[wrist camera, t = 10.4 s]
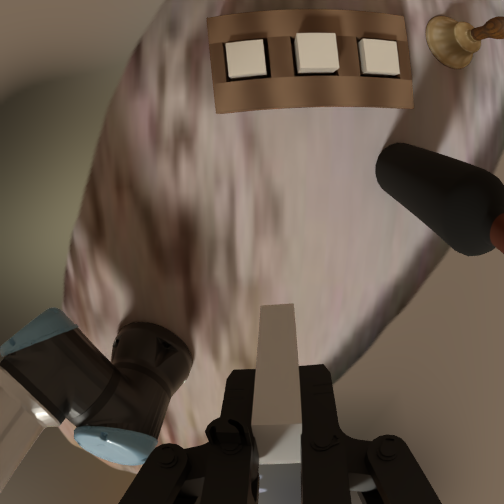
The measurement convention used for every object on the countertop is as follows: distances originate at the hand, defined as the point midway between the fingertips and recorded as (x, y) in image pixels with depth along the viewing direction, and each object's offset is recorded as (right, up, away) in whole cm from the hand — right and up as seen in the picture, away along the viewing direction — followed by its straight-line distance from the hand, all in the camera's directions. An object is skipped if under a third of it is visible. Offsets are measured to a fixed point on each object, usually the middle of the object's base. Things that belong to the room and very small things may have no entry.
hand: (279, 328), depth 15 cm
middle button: (+6, +26, +16) cm, 31 cm away
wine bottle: (+19, +15, +24) cm, 34 cm away
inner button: (-2, +26, +19) cm, 32 cm away
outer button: (+13, +27, +17) cm, 35 cm away
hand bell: (+26, +33, +15) cm, 45 cm away
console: (+6, +27, +19) cm, 34 cm away
